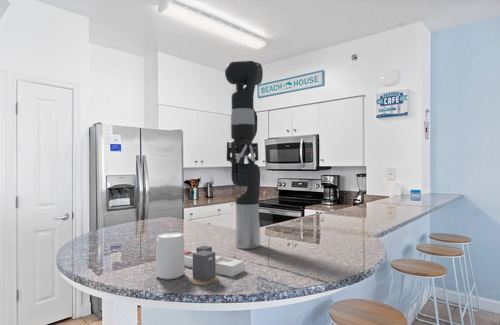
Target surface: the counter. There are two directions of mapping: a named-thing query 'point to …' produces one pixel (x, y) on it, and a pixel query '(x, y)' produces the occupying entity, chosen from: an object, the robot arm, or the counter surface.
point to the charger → (204, 265)
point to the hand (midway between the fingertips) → (243, 174)
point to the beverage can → (170, 255)
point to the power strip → (217, 262)
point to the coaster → (198, 282)
